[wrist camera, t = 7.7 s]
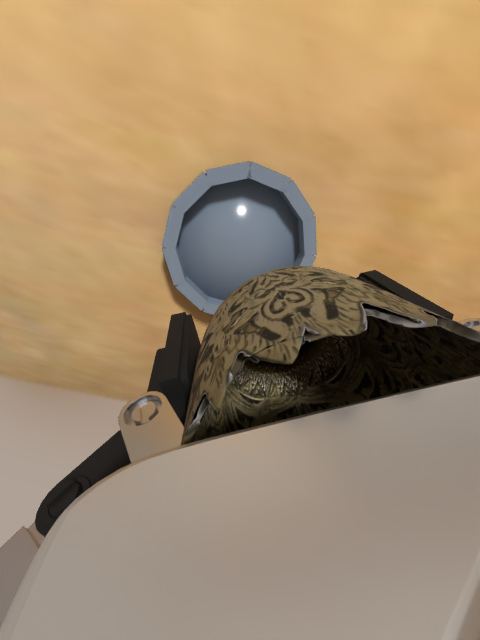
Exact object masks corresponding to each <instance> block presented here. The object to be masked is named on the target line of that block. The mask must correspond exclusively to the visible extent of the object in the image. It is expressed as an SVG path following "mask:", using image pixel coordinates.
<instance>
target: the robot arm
mask: <svg viewBox="0 0 480 640" xmlns="http://www.w3.org/2000/svg"><path fill="white" fill-rule="evenodd" d="M356 279H359V280H362V281H364V282H366V283H369V284H371V285H373V286H376V287H378V288H380V289H383V290H385V291H387V292H389V293H392V294H394V295H396V296H398V297H401V298H403V299H405V300H407V301H410V302H412V303H414V304H416V305H418V306H421V307H423V308H425V309H427V310H429V311H432V312H434V313H436V314H438V315H440V316H443V317H445V318H448V319H450V320H452V319H453V315H454V314H452V313H450V312H448V311H447V310H445V309H443V308H441V307H440V306H438V305H436V304H434V303H433V302H431V301H429V300H427V299H425V298H424V297H422V296H420V295H418V294H417V293H415V292H413V291H411V290H410V289H408V288H406V287H404V286H403V285H401V284H399V283H397V282H396V281H394V280H392V279H390V278H389V277H387V276H385V275H383V274H382V273H380V272H378V271H376V270H373V271H368V272H364V273H361V274H360V275H359V277H357V278H356ZM458 323H461V324H463V325H465V326H467V327H470V328H472V329H474V330H476V331H479V332H480V318H470V319H465V320H461V321H460V322H458ZM200 347H201V344H200V341H199V338H198V334H197V331H196V328H195V325H194V322H193V318H192V316H191V314H190V315H186V313H185V312H183V313H179V314H174V315H171V320H170V325H169V330H168V336H167V341H166V346H165V348H162V349H158V350H157V352H156V356H155V361H154V365H153V369H152V374H151V378H150V382H149V387H148V391H147V392H146V393H142V394H140V395H138V396H136V397H134V398H133V399H131V400H130V401H129V402H128V403H127V404H126V405H125V406H124V407H123V409H122V410H121V412H120V414H119V417H118V422H119V426H120V431H118V432H117V433H116V434H115V435H113V436H112V437H111V438H110V439H109V440H108V441H107V442H105V443H104V444H103V445H102V446H101V447H100V448H98V449H97V450H96V451H95V452H94V453H93V454H92V455H90V456H89V457H88V458H87V459H86V460H85V461H83V462H82V463H81V464H80V465H79V466H78V467H76V468H75V469H74V470H73V471H72V472H71V473H70V474H69V475H67V476H66V477H65V478H64V479H63V480H61V481H60V482H59V483H58V484H57V485H56V486H55V487H54V488H53V489H52V490H51V491H50V492H49V493H48V494H47V496H46V497H45V499H44V500H43V501H42V503H41V505H40V507H39V509H38V511H37V514H36V519H35V522H34V523H33V524H32V525H31V526H30V527H29V528H28V529H27V528H25V527H24V526H23V527H22V528H21V529H20V530H18V531H17V532H16V533H15V534H14V535H13V536H12V537H11V538H10V539H9V540H8V541H7V542H6V543H5V544H4V545H3V546H2V547H1V548H0V640H480V374H476V375H472V376H468V377H463V378H459V379H454V380H450V381H446V382H441V383H437V384H433V385H428V386H424V387H420V388H415V389H411V390H407V391H402V392H398V393H394V394H389V395H385V396H381V397H377V398H372V399H368V400H364V401H360V402H355V403H351V404H347V405H343V406H338V407H334V408H330V409H326V410H321V411H317V412H313V413H309V414H305V415H301V416H296V417H292V418H288V419H284V420H280V421H276V422H272V423H267V424H263V425H259V426H255V427H251V428H247V429H243V430H238V431H234V432H230V433H226V434H222V435H218V436H214V437H210V438H206V439H203V440H199V441H195V442H193V441H192V442H191V443H188V444H184V445H181V440H182V435H183V430H184V424H185V419H186V413H187V408H188V403H189V397H190V392H191V387H192V382H193V377H194V372H195V367H196V362H197V358H198V354H199V350H200ZM180 445H181V446H180Z"/></svg>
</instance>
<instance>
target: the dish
mask: <svg viewBox="0 0 480 640" xmlns="http://www.w3.org/2000/svg"><path fill="white" fill-rule="evenodd" d="M313 215H314V212H313V211H312V209H311V207H310V206H309V204H308V203H307V201H306V200H305V198H304V196H303V195H302V193H301V192H300V190H299V189H298V187H297V185H296V184H295V182H294V181H293V180H291V178H289V177H287V176H284V175H282V174H280V173H278V172H275V171H273V170H271V169H268V168H266V167H264V166H261V165H259V164H257V163H255V162H249V161H247V162H242V163H237V164H232V165H228V166H223V167H218V168H213V169H208V170H206V173H204V172H202V173H201V174H200V175H199V176H198V177H197V178H196V179H195V180H194V181H193V182H192V183H191V184H190V185H189V186H188V187H187V188H186V189H185V190H184V191H183V192H182V193H181V194H180V195H179V196H178V197H177V198H176V200H175V201H174V202H173V203H172V205H171V207H170V212H169V216H168V221H167V225H166V230H165V234H164V239H163V243H162V247H163V248H162V251H163V254H164V257H165V260H166V263H167V266H168V269H169V272H170V275H171V278H172V281H173V284H174V285H176V286H175V288H176V289H178V290H179V291H180V292H181V293H182V294H183V295H184V296H185V297H186V298H187V299H189V300H190V301H191V302H192V303H193V304H194V305H195V306H196V307H197V308H199V309H200V310H201V311H202V310H203V312H205V313H209V314H213V315H214V314H215V312H216V310H217V309H218V307H219V306H220V305H221V304H222V302H223V301H224V300H225V299H226V298H227V297H228V296H229V295H230V294H231V293H232V292H233V291H234V290H235V289H237V288H238V287H239V286H241V285H242V284H244V283H245V282H247V281H248V280H250V279H252V278H254V277H256V276H258V275H260V274H263V273H265V272H268V271H271V270H275V269H278V268H284V267H290V266H310V267H311V266H312V264H313V262H314V260H315V258H316V257H315V256H314V255H317V253H316V218H315V216H313Z"/></svg>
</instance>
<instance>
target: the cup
mask: <svg viewBox="0 0 480 640" xmlns="http://www.w3.org/2000/svg"><path fill="white" fill-rule="evenodd" d="M476 374H480V332H479V331H476V330H474V329H472V328H470V327H467V326H465V325H463V324H461V323H458V322H456V321H453V320H450V319H448V318H445V317H443V316H440V315H438V314H436V313H434V312H432V311H429V310H427V309H425V308H423V307H421V306H418V305H416V304H414V303H412V302H410V301H407V300H405V299H403V298H401V297H398V296H396V295H394V294H392V293H389V292H387V291H385V290H383V289H380V288H378V287H376V286H373V285H371V284H369V283H366V282H364V281H362V280H359V279H356V278H354V277H351V276H349V275H345V274H342V273H339V272H336V271H332V270H329V269H324V268H318V267H310V266H290V267H284V268H278V269H275V270H271V271H268V272H265V273H263V274H260V275H258V276H256V277H254V278H252V279H250V280H248V281H247V282H245V283H244V284H242V285H241V286H239V287H238V288H237V289H235V290H234V291H233V292H232V293H231V294H230V295H229V296H228V297H227V298H226V299H225V300H224V301H223V302H222V304H221V305H220V306H219V307H218V309H217V310H216V312H215V314H214V315H213V317H212V319H211V321H210V323H209V325H208V327H207V329H206V331H205V334H204V337H203V340H202V344H201V347H200V350H199V354H198V358H197V362H196V367H195V372H194V377H193V382H192V387H191V392H190V397H189V403H188V408H187V413H186V419H185V424H184V430H183V435H182V440H181V445H184V444H188V443H191V442H192V441H193V442H195V441H199V440H203V439H206V438H210V437H214V436H218V435H222V434H226V433H230V432H234V431H238V430H243V429H247V428H251V427H255V426H259V425H263V424H267V423H272V422H276V421H280V420H284V419H288V418H292V417H296V416H301V415H305V414H309V413H313V412H317V411H321V410H326V409H330V408H334V407H338V406H343V405H347V404H351V403H355V402H360V401H364V400H368V399H372V398H377V397H381V396H385V395H389V394H394V393H398V392H402V391H407V390H411V389H415V388H420V387H424V386H428V385H433V384H437V383H441V382H446V381H450V380H454V379H459V378H463V377H468V376H472V375H476ZM181 445H180V446H181Z"/></svg>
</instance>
